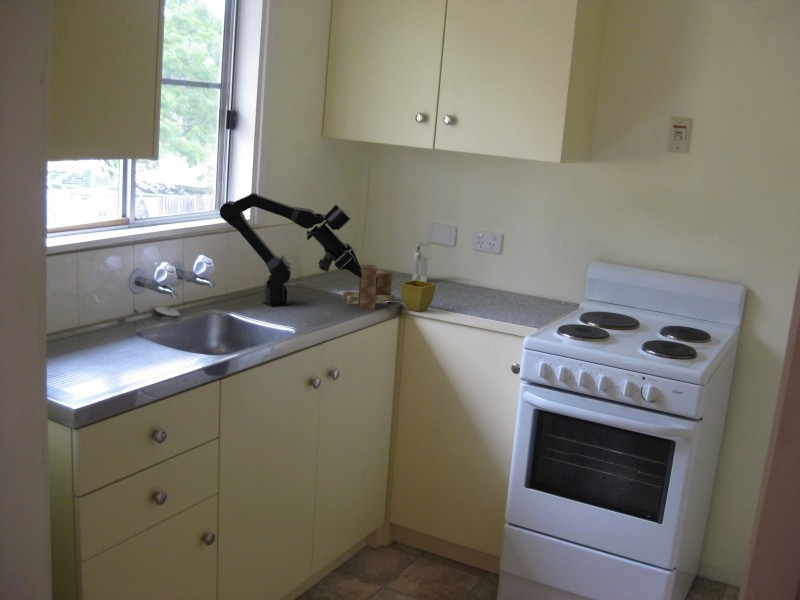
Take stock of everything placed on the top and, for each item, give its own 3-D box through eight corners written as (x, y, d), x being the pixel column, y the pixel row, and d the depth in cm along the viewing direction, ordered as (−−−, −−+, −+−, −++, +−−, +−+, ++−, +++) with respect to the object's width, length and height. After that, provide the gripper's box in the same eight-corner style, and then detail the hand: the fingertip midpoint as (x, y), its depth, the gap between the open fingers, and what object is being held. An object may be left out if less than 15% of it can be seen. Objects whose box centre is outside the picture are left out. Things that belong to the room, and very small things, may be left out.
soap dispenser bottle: (431, 281, 345) (433, 243, 341) (422, 284, 339) (424, 245, 335) (416, 279, 348) (418, 241, 345) (406, 281, 342) (408, 243, 339)
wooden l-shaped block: (348, 304, 302) (349, 275, 299) (342, 298, 310) (343, 269, 308) (393, 303, 306) (394, 274, 304) (386, 297, 315) (387, 269, 312)
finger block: (358, 308, 296) (360, 267, 293) (358, 305, 301) (360, 264, 298) (374, 309, 296) (376, 267, 293) (374, 305, 301) (376, 265, 298)
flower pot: (435, 309, 300) (436, 283, 298) (420, 314, 293) (422, 287, 291) (413, 305, 304) (414, 279, 302) (398, 309, 297) (400, 283, 295)
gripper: (311, 251, 302) (343, 284, 306) (309, 261, 284) (343, 296, 288) (335, 229, 301) (366, 262, 305) (334, 238, 283) (368, 273, 286)
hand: (360, 273), depth 296 cm, fingers open, 9 cm apart
